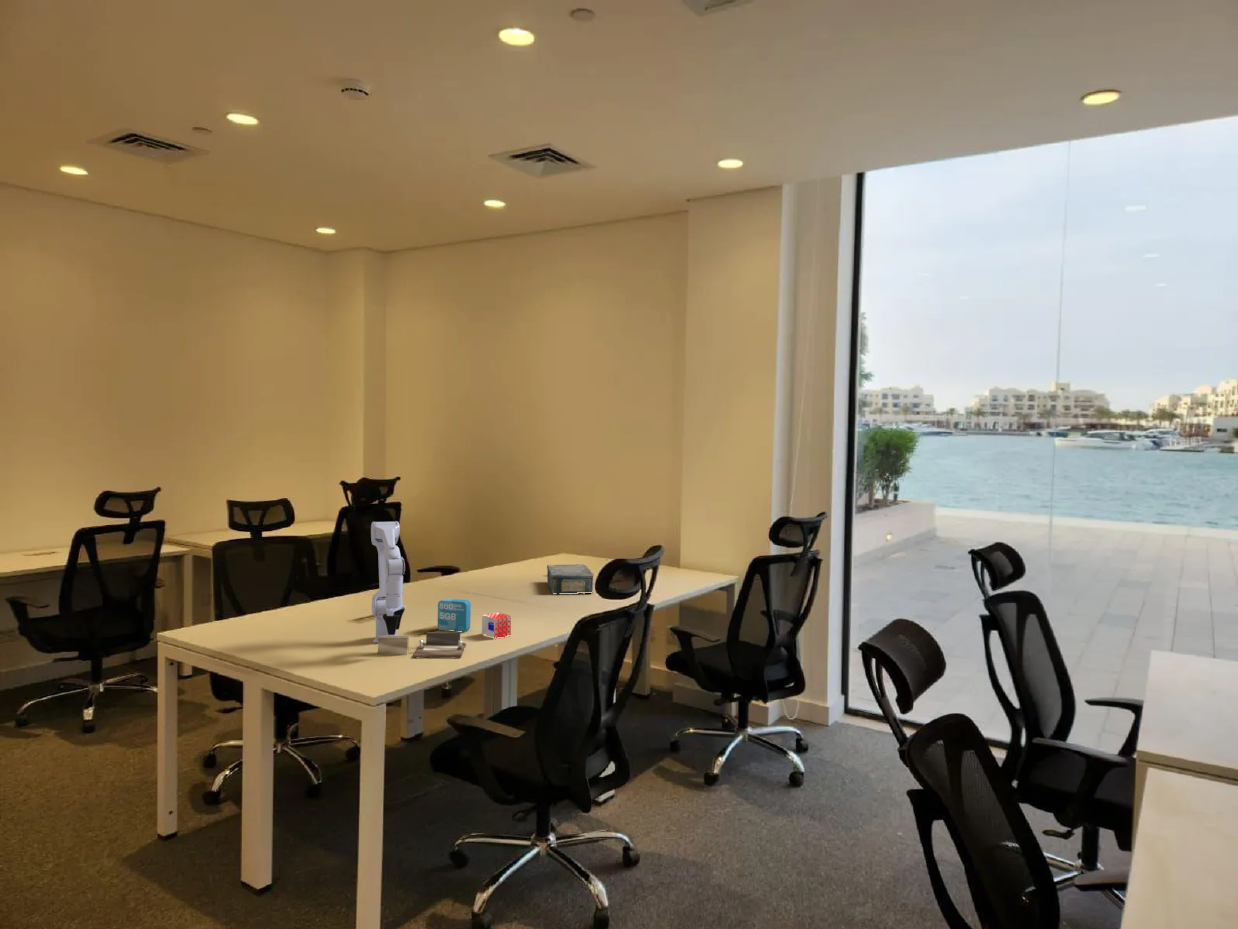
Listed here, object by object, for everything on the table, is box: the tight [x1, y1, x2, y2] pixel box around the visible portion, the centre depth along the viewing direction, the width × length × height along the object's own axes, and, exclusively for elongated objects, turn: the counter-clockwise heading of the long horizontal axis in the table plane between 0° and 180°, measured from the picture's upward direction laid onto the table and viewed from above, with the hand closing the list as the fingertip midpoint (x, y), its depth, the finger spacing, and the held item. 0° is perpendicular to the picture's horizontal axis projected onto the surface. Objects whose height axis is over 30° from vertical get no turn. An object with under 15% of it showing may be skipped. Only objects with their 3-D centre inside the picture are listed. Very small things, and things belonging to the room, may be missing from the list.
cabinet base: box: [413, 631, 467, 658], centre depth 288 cm, size 16×16×5 cm
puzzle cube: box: [481, 611, 512, 638], centre depth 312 cm, size 8×8×8 cm
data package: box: [437, 597, 472, 633], centre depth 319 cm, size 12×4×12 cm, turn 78°
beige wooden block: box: [377, 634, 410, 655], centre depth 284 cm, size 3×10×6 cm, turn 95°
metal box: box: [546, 563, 594, 594], centre depth 409 cm, size 21×32×10 cm, turn 9°
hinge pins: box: [418, 639, 463, 649], centre depth 288 cm, size 1×15×3 cm, turn 95°
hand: (393, 632), depth 284 cm, fingers open, 7 cm apart
